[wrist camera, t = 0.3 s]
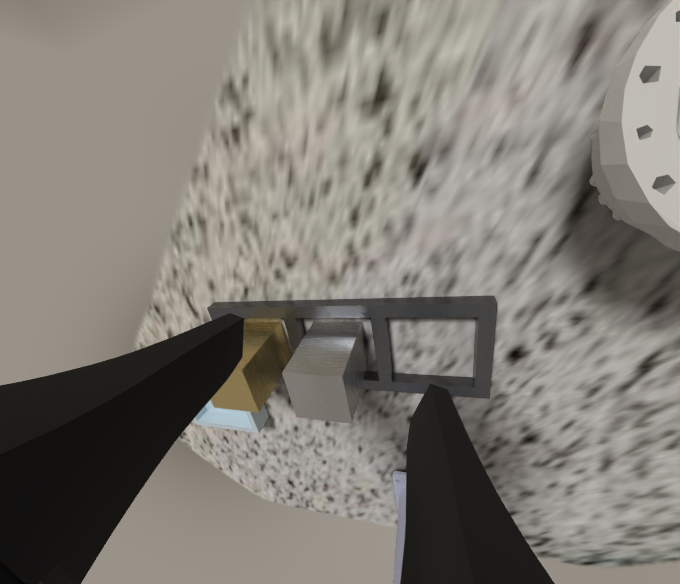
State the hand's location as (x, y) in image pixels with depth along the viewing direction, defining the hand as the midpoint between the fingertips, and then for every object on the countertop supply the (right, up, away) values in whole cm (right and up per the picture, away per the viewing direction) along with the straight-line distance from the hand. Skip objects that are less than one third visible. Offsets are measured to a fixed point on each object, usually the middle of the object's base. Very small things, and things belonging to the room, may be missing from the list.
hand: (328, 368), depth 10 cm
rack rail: (0, -1, +13) cm, 13 cm away
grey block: (+1, -1, +13) cm, 13 cm away
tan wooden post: (-6, -1, +15) cm, 16 cm away
